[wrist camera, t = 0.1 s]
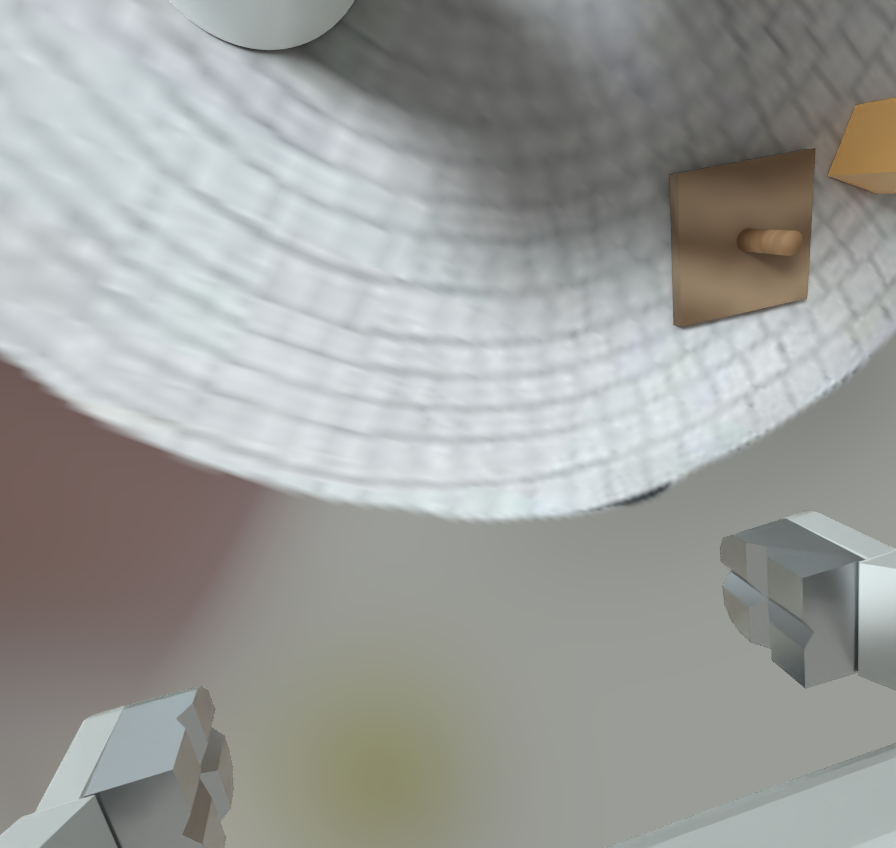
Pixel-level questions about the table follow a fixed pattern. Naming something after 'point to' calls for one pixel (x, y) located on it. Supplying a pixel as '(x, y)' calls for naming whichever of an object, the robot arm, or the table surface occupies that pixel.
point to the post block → (741, 236)
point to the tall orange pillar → (869, 148)
